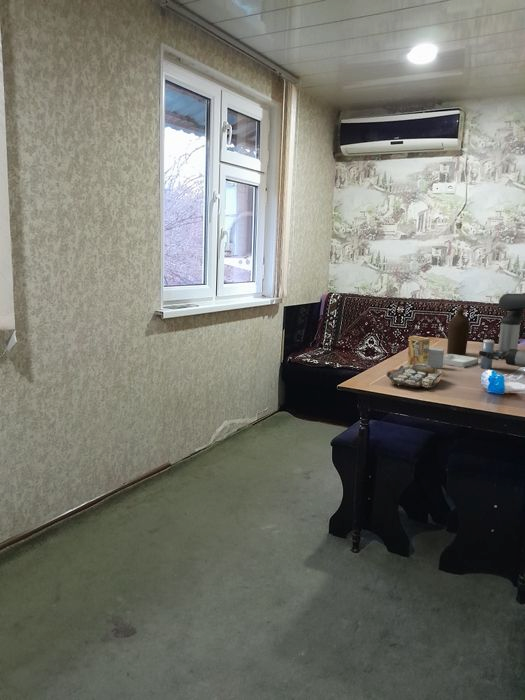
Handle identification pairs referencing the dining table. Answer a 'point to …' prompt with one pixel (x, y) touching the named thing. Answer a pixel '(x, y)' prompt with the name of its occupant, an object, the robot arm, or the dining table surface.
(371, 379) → the dining table surface
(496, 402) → the dining table surface
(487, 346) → the shaker
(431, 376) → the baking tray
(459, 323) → the brown bottle
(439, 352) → the medicine box
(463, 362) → the tray
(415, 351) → the candy box
